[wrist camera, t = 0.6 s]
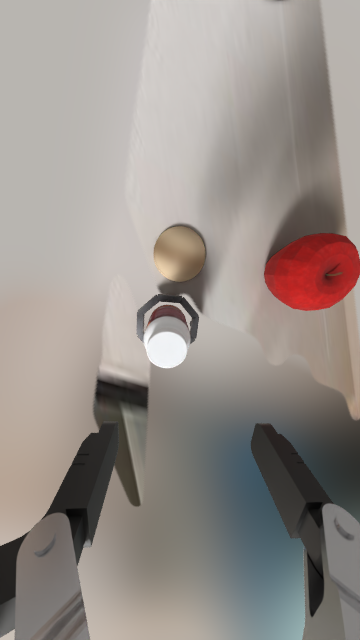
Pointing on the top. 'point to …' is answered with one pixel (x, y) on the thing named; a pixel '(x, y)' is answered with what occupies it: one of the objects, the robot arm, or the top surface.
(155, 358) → the pill bottle
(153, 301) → the ring stand
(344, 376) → the top surface
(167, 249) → the cork coaster
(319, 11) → the top surface
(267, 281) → the apple
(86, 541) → the robot arm
